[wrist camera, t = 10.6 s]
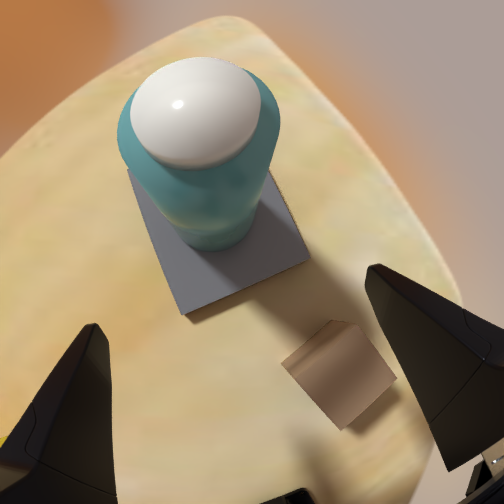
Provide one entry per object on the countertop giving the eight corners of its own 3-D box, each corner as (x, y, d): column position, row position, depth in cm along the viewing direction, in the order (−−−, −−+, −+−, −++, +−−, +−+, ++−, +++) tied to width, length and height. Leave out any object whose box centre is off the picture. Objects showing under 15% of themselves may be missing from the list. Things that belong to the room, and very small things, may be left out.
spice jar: (255, 252, 22) (291, 182, 9) (170, 252, 21) (94, 187, 8) (253, 173, 23) (278, 45, 10) (174, 174, 22) (126, 51, 9)
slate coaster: (307, 259, 23) (310, 257, 22) (183, 314, 22) (181, 315, 21) (242, 129, 24) (243, 123, 23) (130, 174, 23) (126, 169, 22)
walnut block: (366, 365, 22) (397, 378, 17) (319, 407, 21) (340, 430, 16) (331, 320, 22) (356, 324, 17) (280, 363, 22) (294, 379, 17)
